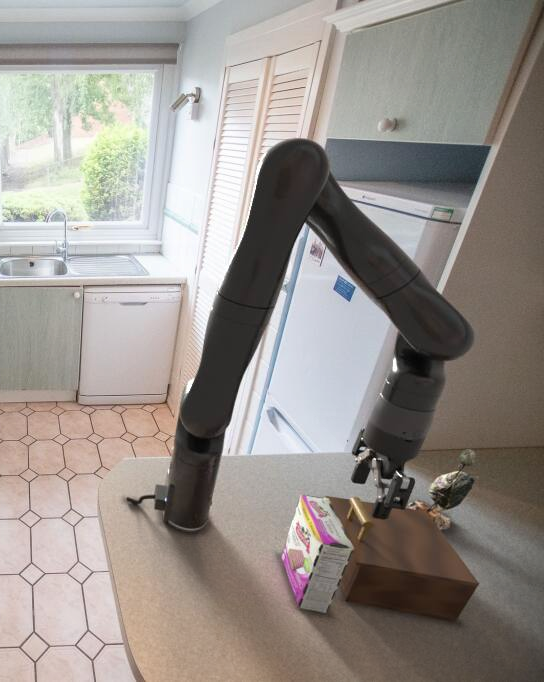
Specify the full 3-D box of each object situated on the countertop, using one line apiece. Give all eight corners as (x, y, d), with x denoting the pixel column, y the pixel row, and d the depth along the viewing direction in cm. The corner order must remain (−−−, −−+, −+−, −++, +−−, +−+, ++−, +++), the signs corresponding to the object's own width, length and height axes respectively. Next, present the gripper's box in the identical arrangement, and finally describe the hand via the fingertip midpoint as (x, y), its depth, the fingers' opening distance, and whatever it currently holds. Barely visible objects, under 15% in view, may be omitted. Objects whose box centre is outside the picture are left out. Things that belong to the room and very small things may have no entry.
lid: (355, 565, 77) (366, 541, 74) (323, 498, 91) (331, 476, 88) (477, 587, 73) (492, 563, 71) (424, 513, 87) (435, 491, 85)
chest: (345, 601, 80) (361, 566, 77) (316, 531, 94) (328, 499, 91) (455, 622, 77) (477, 587, 73) (408, 546, 91) (424, 514, 87)
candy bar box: (278, 556, 89) (299, 492, 82) (306, 560, 88) (329, 496, 81) (296, 610, 79) (322, 542, 72) (328, 615, 78) (357, 548, 71)
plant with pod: (470, 527, 95) (513, 451, 87) (425, 535, 93) (465, 458, 85) (433, 499, 103) (469, 426, 94) (391, 506, 101) (424, 432, 92)
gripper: (354, 397, 80) (329, 469, 87) (393, 447, 68) (360, 526, 74) (402, 402, 79) (373, 475, 85) (451, 454, 66) (412, 534, 73)
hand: (367, 499), depth 80 cm, fingers open, 8 cm apart
